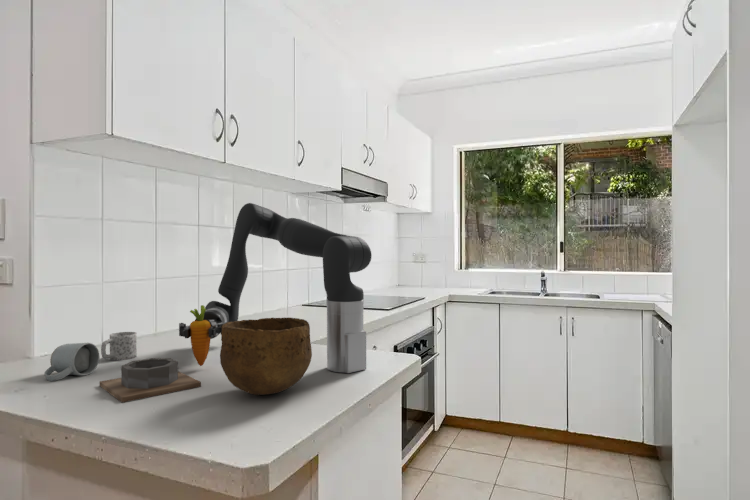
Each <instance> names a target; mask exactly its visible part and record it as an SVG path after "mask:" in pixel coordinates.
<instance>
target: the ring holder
mask: <svg viewBox="0 0 750 500" xmlns="http://www.w3.org/2000/svg"><path fill="white" fill-rule="evenodd" d="M178 365H179V361H178V360H175V359H174V358H171V357H166V358H165V357H151V358H144V359H138V360H137V359H136V360H131V361H129V362H127V363H125V364H122V365H121V367H120V370H121V371H120V372H121V373H120V374H121V375H120V376H121V377H118V378H111V379H106V380H100V381H99V387H101V389H102V390H105V391H106V392H107V393H109V394H110V395H111V396H113V397H114V398H115V399H116V400H118V401H119V402H121V403H127V402H132V401H136V400H142V399H146V398H152V397H156V396H160V395H166V394H169V393H175V392H180V391H186V390H190V389H195V388H199V387H202V381H200V380H197V379H196V378H194V377H191V376H189V375H187V374H185V373H183V372H181V371H179V368H178V367H179V366H178Z"/></svg>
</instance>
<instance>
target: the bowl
mask: <svg viewBox="0 0 750 500" xmlns="http://www.w3.org/2000/svg"><path fill="white" fill-rule="evenodd" d="M310 333H311V326H310V323H309V322H308V320H306V319H304V318H297V317H264V318H263V317H262V318H259V319H241V320H238V321H234V322H227V323H225V324H223V325H222V333H220V335H221V337H220V338H221V340H220V341H221V346H220V354H219V363H220V365H221V368H222V371H223V373H224V375H225V376H226V378H227V380H228V381H229V382H230V383H231V384H232V386H233V387H236V388H237V389H239V390H241V391H243V392H245V393H247V394H249V395H255V396H265V395H272V394H278V393H281V392H283V391H285V390H287V389H290V388H291V387H292V386H294V385H295V384H297V383H298V382H299V381H300V380H301V379H302V378H303V377H304V375H305V374H306V372H307V370H308V368H309V366H310V364H311V361H312V356H313V352H312V351H313V350H312V344H311V334H310Z"/></svg>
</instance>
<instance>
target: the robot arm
mask: <svg viewBox="0 0 750 500" xmlns="http://www.w3.org/2000/svg"><path fill="white" fill-rule="evenodd" d="M249 235H253V236H255V237H259V238H265V239H270V240H275V241H278V242H279V243H280V245H281V246H283V248H285V249H287V250H289V251H291V252H294V253H296V254H299V255H304V256H308V257H315V258H322V270H323V273H322V274H323V287H324V291H325V294H326V369H327V370H328V371H330V372H334V373H346V374H350V373H355V372H359V371H364V370H367V331H366V330H364V290H363V288H362V287H360V286H359V285H356V284H354V283H353V281H352V280H351V273H357V272H361V271H363V270H365V269H366V268H367V267H368V266H369V265H370V263H371V261H372V250H371V248H370V246H369V244H368V243H367V242H366V241H365V240H364V239H363V238H361V237H359V236H352V235H346V234H343V233H337V232H334V231H332V230H329V229H327V228H324V227H323V226H319V225H317V224H314V223H312V222H309V221H306V220H304V219H300V218H297V217H288V218H286V217H284V216H282V215H281V214H279V213H277V212H276V211H273V210H272V209H270V208H267V207H264V206H262V205H261V206H260V205H259V204H256V203H252V202H248V203H246V204H243V206H242V207H241V209H240V210H239V212H238V215H237V217H236V221H235V225H234V230H233V235H232V236H233V237H232V240H231V243H230V244H231V245H230V251H229V254H228V260H227V263H226V266H225V270H224V273H223V275H222V278H221V280H220V283H219V287H218V290H217V292H218V294H219V295H220V296H222V297H223V298H225V299H226V300H228V302H229V304H230V305H229V304H226V303H223V302H220V301H217V300H210V301H209V302H208V303H207V304H206V305H205V309H206V311H205V313H204V318H203V320H207V321H209V322H210V324H211V327H210V328H209V338H210V340H212V339H215V338H217V337H218V336H219V335H221V333H222V325H223V324H225V323H227V322H234V321H239V315H240V312H239V311H240V302H241V300H240V299H241V297H242V294H243V290H244V288H245V285H246V282H247V280H248V276H249V275H248V273H249V265H248V259H247V258H248V257H247V252H246V250H247V249H246V246H247V245H246V244H247V241H248V238H249ZM199 316H200V314H199ZM196 320H197V319H196V318H195V320H194V321H196ZM178 332H179V333H178V336H179V337H183V338H184V339H190V338H191V337H190V324H189V325H187V324H186V323H184V322H179V323H178Z"/></svg>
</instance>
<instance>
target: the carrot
mask: <svg viewBox="0 0 750 500" xmlns="http://www.w3.org/2000/svg"><path fill="white" fill-rule="evenodd" d="M205 307H206V305H204V304H203V305H200V313H199V311H198V309H197V308H194V310H192V309H190V311H189V313H191V314H193V316H194V317H195V319H197V320H196V321H195V320H194V321H192V322H190V324H189V325H190V337H189V338H190V344H191V349H192V354H193V357H194V359H195V361H196V362H197V364H198V365H199V367H203V365H204V364H205V362H206V359H207V358H208V354H209V350H210V346H211V339H210V338H209V328H210V327H211V324H210V322H209V321H207V320H203V318H204V313H205V311H206V309H205ZM199 315H200V316H199Z"/></svg>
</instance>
